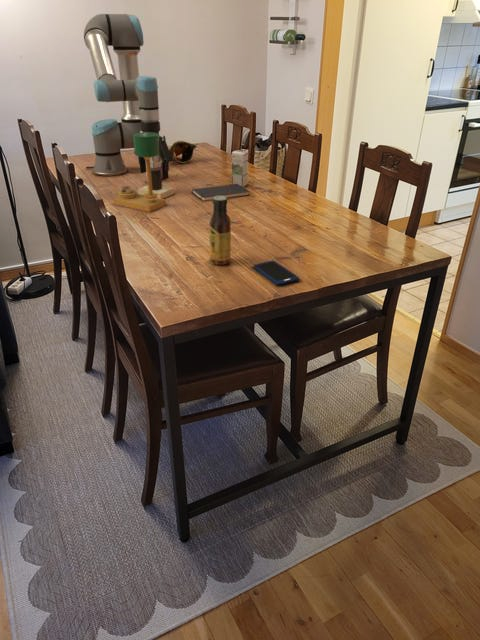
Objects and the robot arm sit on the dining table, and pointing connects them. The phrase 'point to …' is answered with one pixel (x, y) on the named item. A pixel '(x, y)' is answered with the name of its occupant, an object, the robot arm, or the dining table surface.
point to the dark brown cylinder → (156, 178)
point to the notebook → (220, 191)
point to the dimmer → (157, 191)
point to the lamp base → (138, 201)
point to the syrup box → (240, 167)
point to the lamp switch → (126, 190)
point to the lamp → (147, 154)
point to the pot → (182, 151)
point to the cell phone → (276, 272)
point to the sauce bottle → (220, 232)
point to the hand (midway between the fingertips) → (154, 175)
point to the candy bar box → (155, 163)
